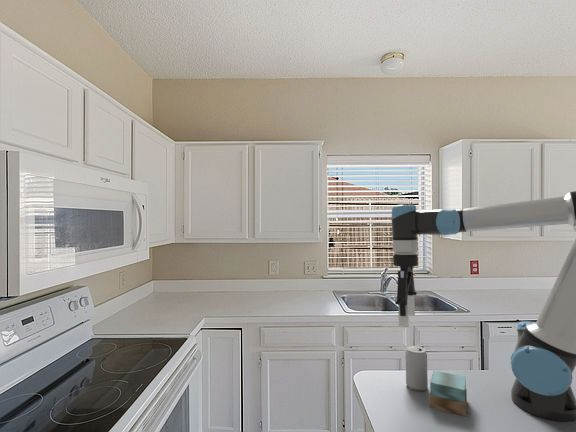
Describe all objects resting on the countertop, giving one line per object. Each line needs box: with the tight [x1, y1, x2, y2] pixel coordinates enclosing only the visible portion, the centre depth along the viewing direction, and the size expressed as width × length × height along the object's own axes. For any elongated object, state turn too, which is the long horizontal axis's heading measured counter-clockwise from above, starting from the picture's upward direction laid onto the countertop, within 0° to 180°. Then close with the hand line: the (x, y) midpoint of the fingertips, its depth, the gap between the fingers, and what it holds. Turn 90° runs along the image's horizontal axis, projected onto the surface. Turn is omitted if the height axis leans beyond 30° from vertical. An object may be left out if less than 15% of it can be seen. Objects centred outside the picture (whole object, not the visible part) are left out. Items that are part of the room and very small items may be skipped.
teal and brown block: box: [429, 369, 468, 418], centre depth 95 cm, size 9×9×7 cm
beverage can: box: [405, 345, 429, 392], centre depth 105 cm, size 6×6×12 cm
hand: (407, 320), depth 105 cm, fingers open, 13 cm apart
